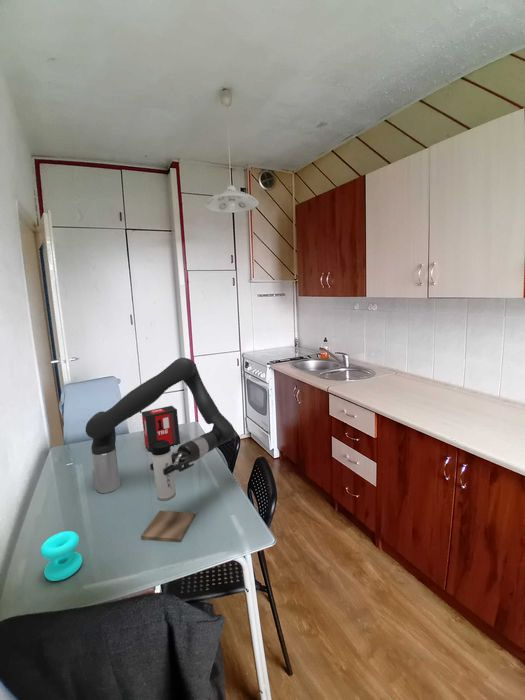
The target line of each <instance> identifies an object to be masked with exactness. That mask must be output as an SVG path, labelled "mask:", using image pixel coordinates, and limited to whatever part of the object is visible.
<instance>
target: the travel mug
mask: <svg viewBox="0 0 525 700" xmlns="http://www.w3.org/2000/svg"><path fill="white" fill-rule="evenodd" d="M150 445H151V451H152V452H151V458H152V459H151V461H152V463H153V468H154V470H153V475H154V482H155V483H154V484H155V490H156V498H157V500H158V501H159V502H167V501H171V500H172V499H174V498H175V497H176V484H175V476H174V471H173V472H171V473H170V474H168V475H164V474H163V469H164V468H166V467H168V466H170V465H173V464H172V457H171V453H172V451H171V447H170V444H169V442H168V441H166V440H157V441H154V442H151V443H150Z"/></svg>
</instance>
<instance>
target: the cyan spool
mask: <svg viewBox="0 0 525 700" xmlns="http://www.w3.org/2000/svg"><path fill="white" fill-rule="evenodd" d="M79 542H80V536H79V534H78V533H76V532H75V531H71V530H66V531H61V532H58V533H55V534H54V535H52V536H50V537H48V539H46V540H45V542H43V544H42V545H41V548H40V555H41V557H42V558H44V559H45V560H49V561H48V563H47V564H46V566H45V568H44V572H43V575H44V577H45V578H46V579H47V580H48V581H50V582H51V581H53V582H55V581H56V582H57V581H63V580H65V579H68V578H69V577H71V576H73V575H74V574H75V573H77V571H78V570H79V569H80V568H81V566H82V563H83V556H82V555H81V554H80V552H78V551H76V550H75V549H76V548H77V546H78V545H79ZM74 550H75V551H74Z"/></svg>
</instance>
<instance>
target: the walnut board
mask: <svg viewBox="0 0 525 700" xmlns="http://www.w3.org/2000/svg"><path fill="white" fill-rule="evenodd" d="M196 516H197V515H196V512H191V511H190V512H189V511H176V510H175V511H174V510H159V511H158V512H157V513H156V515H155V516H154V517H153V518H152V520H151V522H150V523H149V524H148V525H147V527H146V528H145V530H144V531H143V532H142V534H141V535H140V539H141V540H143V541H144V540H147V541H160V542H170V543H171V542H173V543H181V542H182V541H183V539H184V537H185V535H186V533H187V532H188V530H189V528H190V527H191V525H192V523H193V521H194V519H195V518H196Z"/></svg>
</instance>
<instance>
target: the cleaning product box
mask: <svg viewBox="0 0 525 700" xmlns="http://www.w3.org/2000/svg"><path fill="white" fill-rule="evenodd" d="M141 418H142V427H143V436H144V437H143V438H144V445H145V446H146V447H145V446H144V447H145V448H146V450H147V449H148V450H147V452H151V453H152V451H151V445H150V443H151V442H154V441H157V440H166V441H168V442H169V444H170V448H172V447H171V446H173V447H175V446H174V445H177V446H179V445H178V444H180V445H181V441H180V439H181V438H180V429H179V416H178V409H177V408H176V407H174V406H173V405H168V406H164V407H158V408H155V409H149V410H144V411H141Z"/></svg>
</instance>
